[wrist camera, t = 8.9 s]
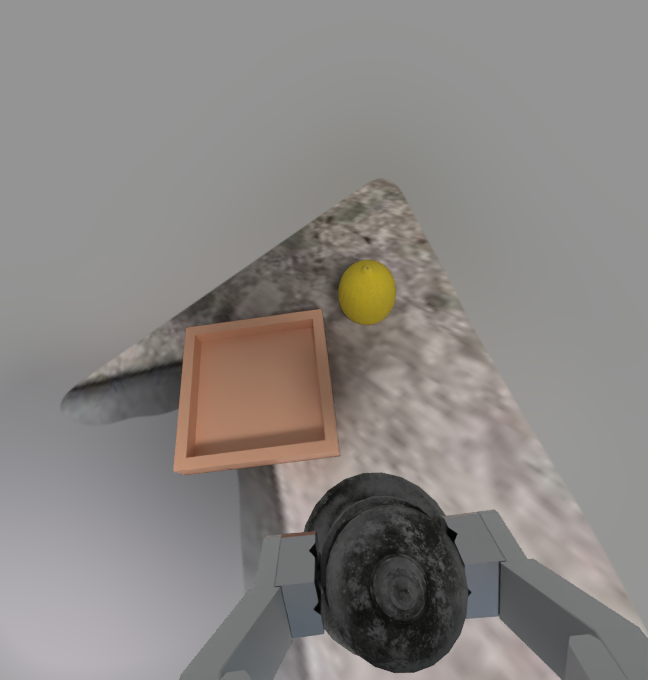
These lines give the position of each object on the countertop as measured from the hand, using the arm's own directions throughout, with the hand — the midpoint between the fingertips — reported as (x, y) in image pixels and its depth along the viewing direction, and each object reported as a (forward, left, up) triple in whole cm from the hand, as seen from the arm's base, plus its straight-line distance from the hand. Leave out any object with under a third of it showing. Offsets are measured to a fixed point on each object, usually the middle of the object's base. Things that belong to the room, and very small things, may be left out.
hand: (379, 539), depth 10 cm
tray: (-8, +13, -21) cm, 26 cm away
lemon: (+3, +20, -21) cm, 29 cm away
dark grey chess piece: (0, -1, -7) cm, 7 cm away
